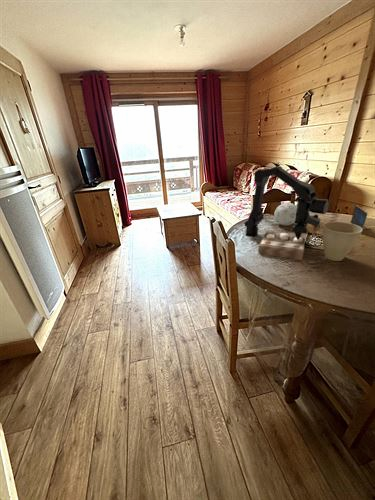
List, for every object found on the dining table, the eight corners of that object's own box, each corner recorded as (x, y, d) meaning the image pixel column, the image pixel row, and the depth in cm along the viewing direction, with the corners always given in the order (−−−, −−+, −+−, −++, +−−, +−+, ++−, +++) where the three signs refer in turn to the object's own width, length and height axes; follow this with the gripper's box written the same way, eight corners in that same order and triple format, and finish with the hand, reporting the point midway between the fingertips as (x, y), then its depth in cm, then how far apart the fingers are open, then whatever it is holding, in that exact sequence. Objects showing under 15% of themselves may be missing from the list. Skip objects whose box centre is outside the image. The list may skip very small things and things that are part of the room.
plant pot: (338, 268, 96) (347, 235, 89) (309, 255, 109) (315, 225, 101) (360, 259, 101) (370, 228, 94) (330, 248, 113) (337, 219, 106)
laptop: (328, 223, 144) (333, 204, 139) (350, 224, 141) (356, 204, 135) (336, 233, 129) (341, 212, 123) (361, 234, 125) (368, 213, 120)
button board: (258, 253, 115) (258, 244, 112) (266, 237, 131) (267, 230, 129) (302, 260, 105) (303, 251, 103) (304, 242, 122) (306, 234, 120)
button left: (265, 242, 122) (265, 236, 121) (266, 239, 126) (267, 233, 124) (273, 243, 120) (274, 237, 119) (274, 240, 124) (275, 234, 122)
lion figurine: (324, 235, 128) (327, 220, 124) (319, 237, 126) (322, 223, 122) (300, 229, 139) (302, 215, 135) (295, 231, 137) (297, 217, 133)
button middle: (278, 241, 118) (279, 235, 117) (279, 238, 122) (280, 232, 120) (287, 242, 116) (288, 236, 115) (288, 239, 120) (289, 233, 118)
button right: (292, 245, 116) (293, 240, 114) (293, 242, 119) (294, 236, 118) (301, 247, 114) (302, 241, 112) (301, 243, 117) (302, 237, 116)
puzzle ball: (271, 226, 146) (273, 205, 139) (275, 220, 157) (278, 199, 151) (295, 229, 139) (299, 207, 132) (298, 222, 150) (302, 201, 143)
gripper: (321, 217, 97) (314, 248, 104) (321, 206, 112) (315, 234, 119) (294, 215, 102) (289, 245, 109) (297, 205, 117) (293, 232, 124)
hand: (298, 239), depth 115 cm, fingers closed, pressing on button right
